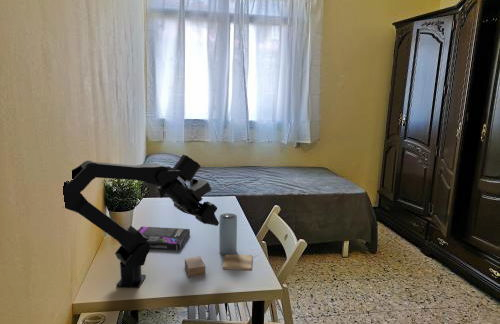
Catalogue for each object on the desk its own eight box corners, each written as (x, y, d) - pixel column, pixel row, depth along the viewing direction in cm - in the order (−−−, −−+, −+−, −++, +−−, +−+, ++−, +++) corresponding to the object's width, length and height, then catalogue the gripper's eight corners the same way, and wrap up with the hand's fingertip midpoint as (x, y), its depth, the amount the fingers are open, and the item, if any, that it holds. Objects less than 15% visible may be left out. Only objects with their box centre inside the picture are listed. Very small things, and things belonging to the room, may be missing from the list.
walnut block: (205, 275, 109) (205, 266, 108) (189, 277, 107) (188, 268, 106) (200, 265, 115) (200, 256, 114) (184, 267, 113) (184, 258, 113)
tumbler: (236, 255, 121) (236, 218, 119) (218, 255, 122) (218, 218, 119) (237, 248, 127) (237, 213, 125) (220, 247, 127) (220, 212, 125)
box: (126, 250, 126) (180, 252, 125) (125, 241, 126) (180, 243, 124) (141, 234, 140) (190, 236, 138) (141, 226, 139) (190, 227, 137)
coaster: (251, 269, 112) (251, 267, 112) (222, 268, 112) (222, 267, 112) (252, 256, 121) (252, 255, 121) (225, 256, 121) (225, 254, 121)
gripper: (211, 178, 104) (241, 207, 113) (181, 167, 119) (210, 194, 127) (187, 209, 101) (220, 237, 110) (159, 194, 115) (190, 220, 124)
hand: (210, 220), depth 118 cm, fingers open, 9 cm apart
